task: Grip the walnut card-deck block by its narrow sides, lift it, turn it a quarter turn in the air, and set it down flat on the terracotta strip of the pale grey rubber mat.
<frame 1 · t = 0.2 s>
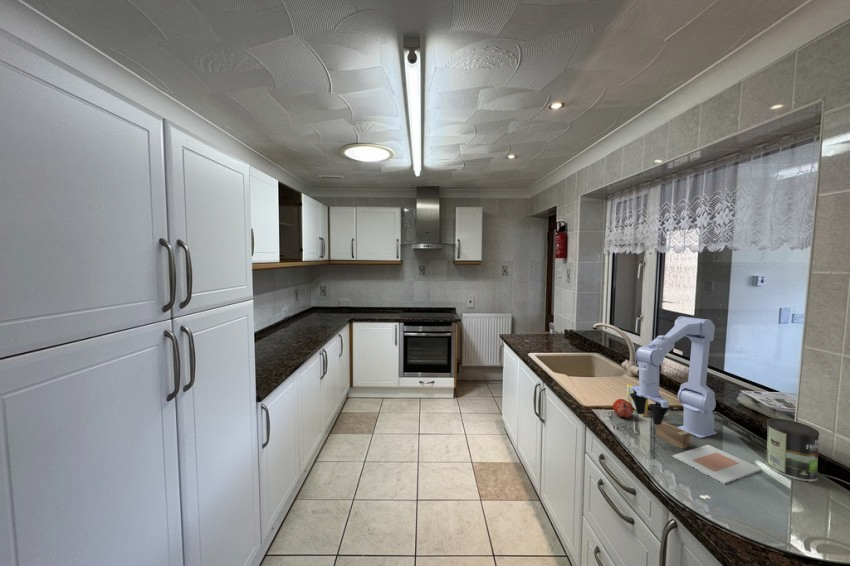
hand: (648, 418, 110), 10 cm above the counter, tool pointing down, fingers open, 7 cm apart
mat: (715, 463, 99), on the counter
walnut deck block: (672, 441, 112), on the counter
candy box: (636, 409, 139), on the counter
pomegranate: (622, 416, 132), on the counter
coffee can: (790, 471, 95), on the counter
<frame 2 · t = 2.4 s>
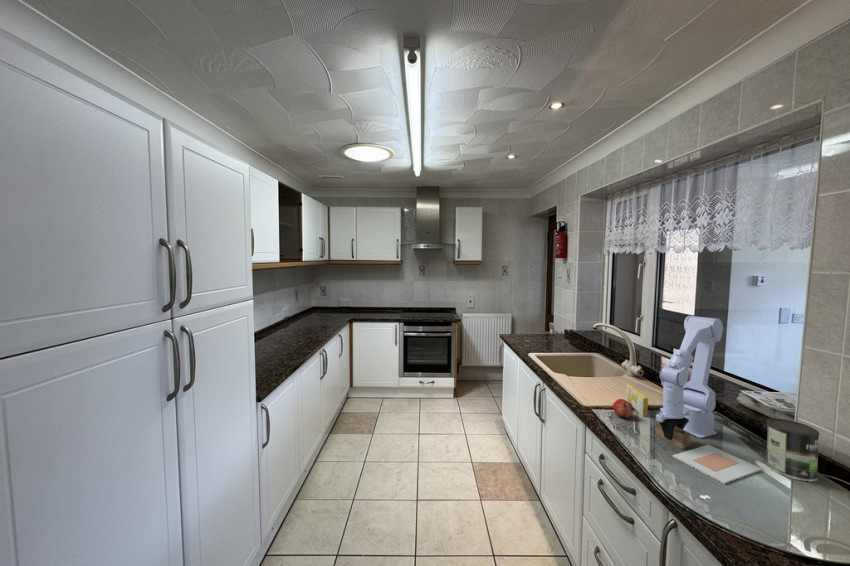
hand: (672, 437, 112), 1 cm above the counter, tool pointing down, fingers closed on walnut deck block, 4 cm apart
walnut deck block: (672, 441, 112), on the counter, touching gripper
everything else where it was.
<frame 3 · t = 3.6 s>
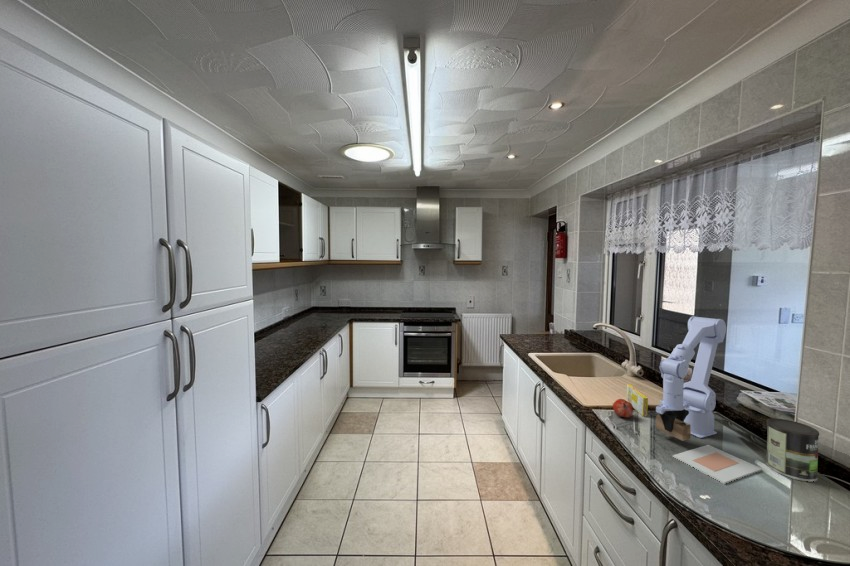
hand: (672, 429, 112), 4 cm above the counter, tool pointing down, fingers closed on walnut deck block, 4 cm apart
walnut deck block: (672, 433, 112), point 3 cm above the counter, touching gripper
everything else where it was.
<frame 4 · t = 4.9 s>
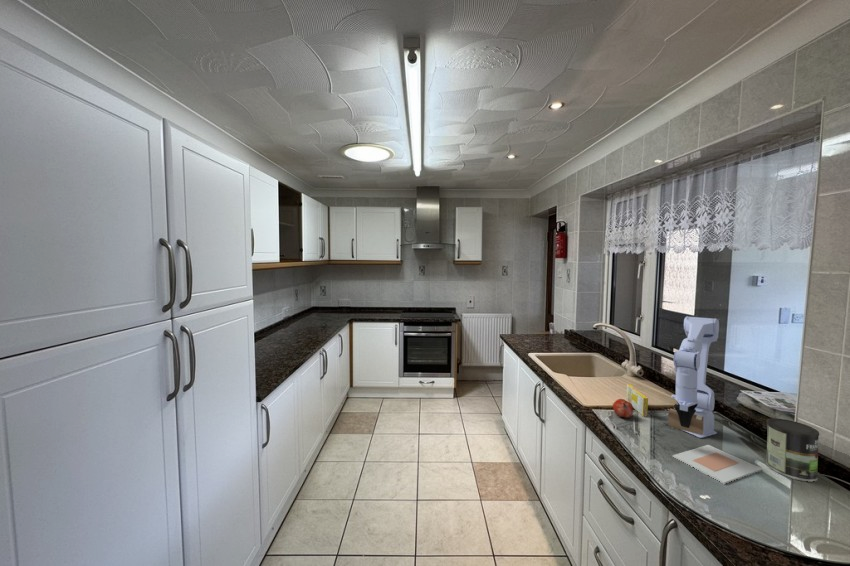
hand: (685, 424, 108), 8 cm above the counter, tool pointing down, fingers closed on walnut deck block, 4 cm apart
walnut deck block: (685, 428, 108), point 7 cm above the counter, touching gripper
everything else where it was.
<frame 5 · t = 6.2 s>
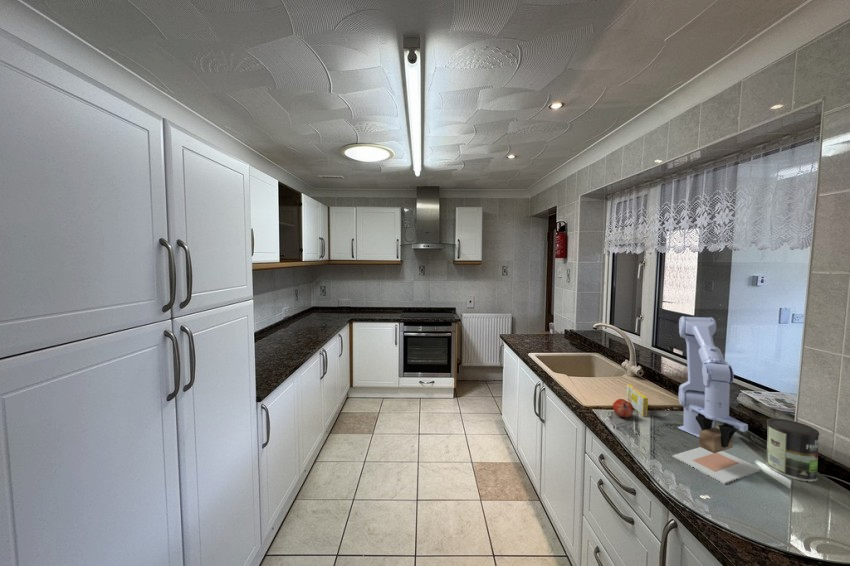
hand: (715, 442, 99), 7 cm above the counter, tool pointing down, fingers closed on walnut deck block, 4 cm apart
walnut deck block: (715, 447, 99), point 5 cm above the counter, touching gripper
everything else where it was.
when the fingers open (3 cm above the counter, at t = 7.4 s): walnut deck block drops 1 cm, resting on mat.
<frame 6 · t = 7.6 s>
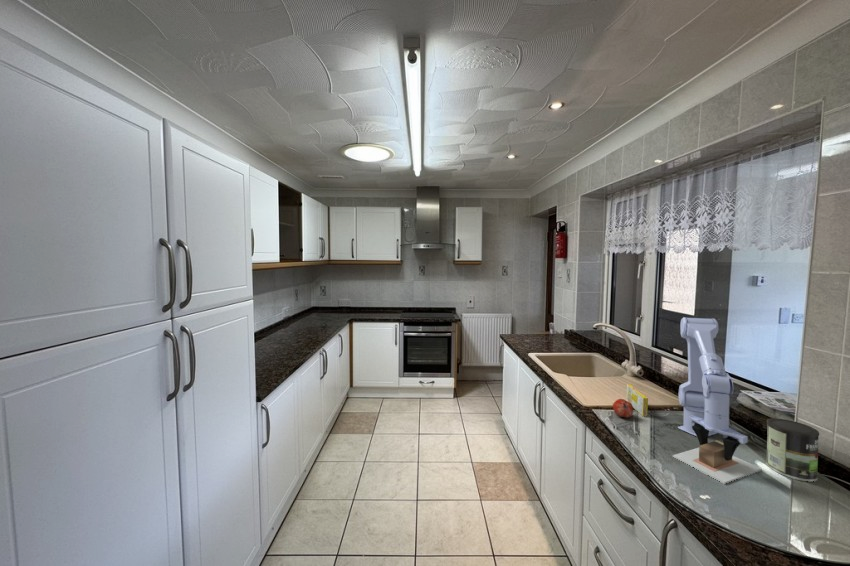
hand: (715, 453, 99), 3 cm above the counter, tool pointing down, fingers open, 6 cm apart
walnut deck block: (715, 461, 99), point 1 cm above the counter, touching mat
everything else where it was.
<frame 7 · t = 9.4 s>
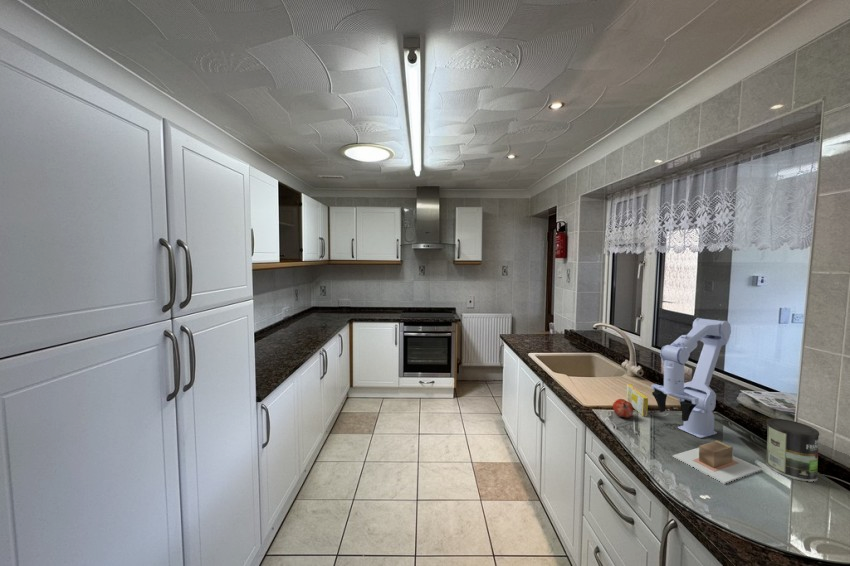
hand: (673, 415, 113), 9 cm above the counter, tool pointing down, fingers open, 7 cm apart
nothing on the counter moved.
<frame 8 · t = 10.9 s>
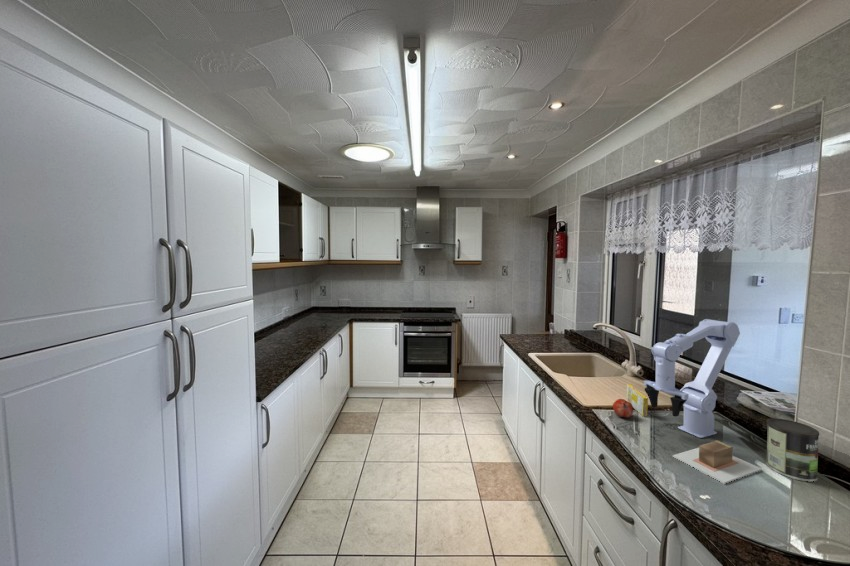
hand: (664, 411, 116), 9 cm above the counter, tool pointing down, fingers open, 7 cm apart
nothing on the counter moved.
at the end: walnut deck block 0.0 cm from the target spot, point 0.7 cm above the counter; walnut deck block tilted 0°; the gripper is holding nothing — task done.
